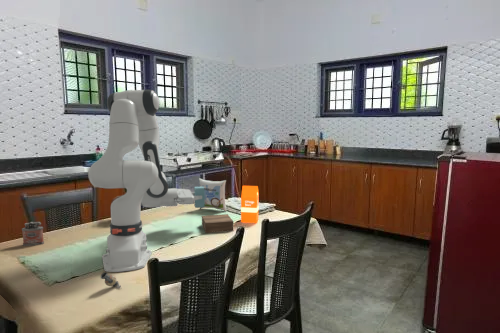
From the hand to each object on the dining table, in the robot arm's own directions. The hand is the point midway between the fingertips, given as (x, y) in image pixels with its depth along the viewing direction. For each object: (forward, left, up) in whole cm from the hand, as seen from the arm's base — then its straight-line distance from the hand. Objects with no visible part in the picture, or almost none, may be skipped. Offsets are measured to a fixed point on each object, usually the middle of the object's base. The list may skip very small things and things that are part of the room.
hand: (201, 195), depth 170 cm
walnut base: (-1, -8, -17) cm, 19 cm away
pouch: (+36, -12, -17) cm, 41 cm away
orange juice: (+7, -28, -17) cm, 34 cm away
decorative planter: (+26, +39, -17) cm, 50 cm away
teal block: (0, +1, -6) cm, 6 cm away
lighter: (-4, +75, -17) cm, 77 cm away
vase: (-57, +37, -17) cm, 70 cm away
